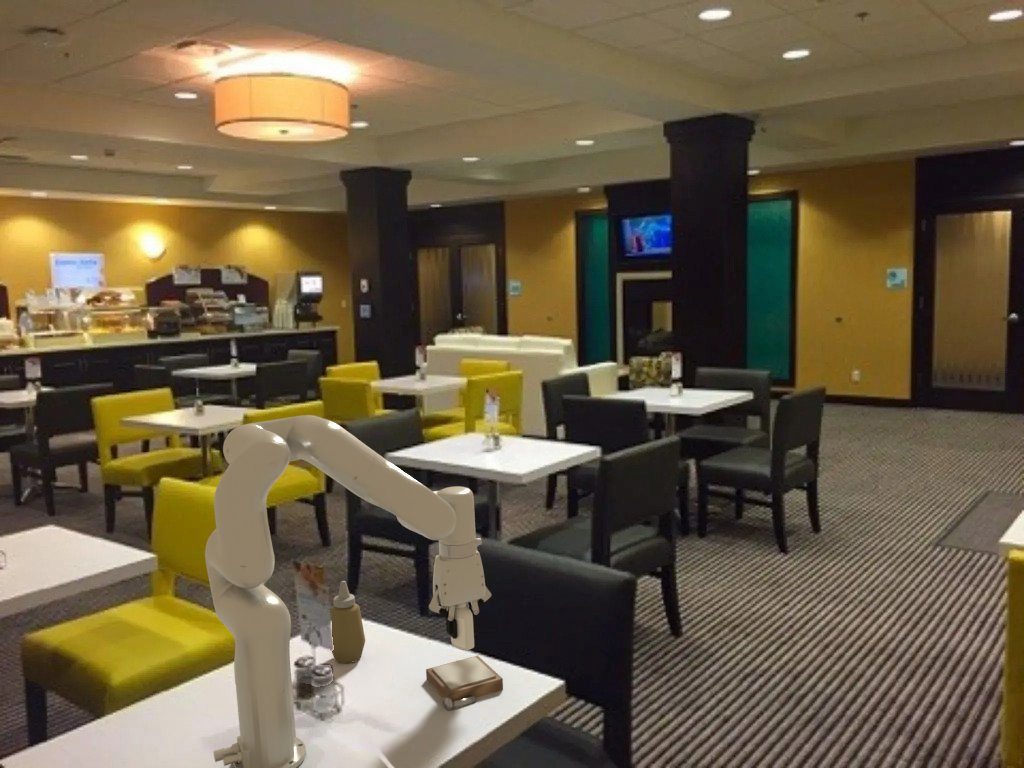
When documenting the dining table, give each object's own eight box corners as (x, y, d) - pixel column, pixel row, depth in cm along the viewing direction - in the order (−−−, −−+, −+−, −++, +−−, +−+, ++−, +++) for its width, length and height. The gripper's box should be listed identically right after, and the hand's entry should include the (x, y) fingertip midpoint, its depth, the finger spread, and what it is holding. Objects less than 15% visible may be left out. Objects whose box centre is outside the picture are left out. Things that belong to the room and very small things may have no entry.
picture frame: (449, 707, 171) (448, 691, 170) (426, 682, 181) (425, 667, 181) (503, 692, 176) (502, 676, 176) (478, 668, 187) (477, 653, 186)
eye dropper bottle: (453, 652, 174) (450, 596, 173) (450, 641, 180) (447, 586, 178) (475, 650, 175) (472, 594, 173) (471, 638, 181) (468, 584, 179)
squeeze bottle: (328, 653, 197) (322, 578, 194) (363, 647, 199) (358, 573, 196) (331, 669, 189) (326, 590, 186) (368, 662, 191) (363, 585, 189)
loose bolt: (449, 707, 168) (444, 695, 169) (446, 714, 169) (441, 702, 171) (476, 699, 171) (471, 688, 172) (473, 706, 172) (468, 695, 174)
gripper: (486, 535, 181) (490, 618, 184) (412, 550, 174) (417, 636, 177) (502, 545, 175) (506, 631, 178) (426, 561, 167) (431, 650, 170)
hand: (462, 632), depth 177 cm, fingers closed on eye dropper bottle, 3 cm apart
